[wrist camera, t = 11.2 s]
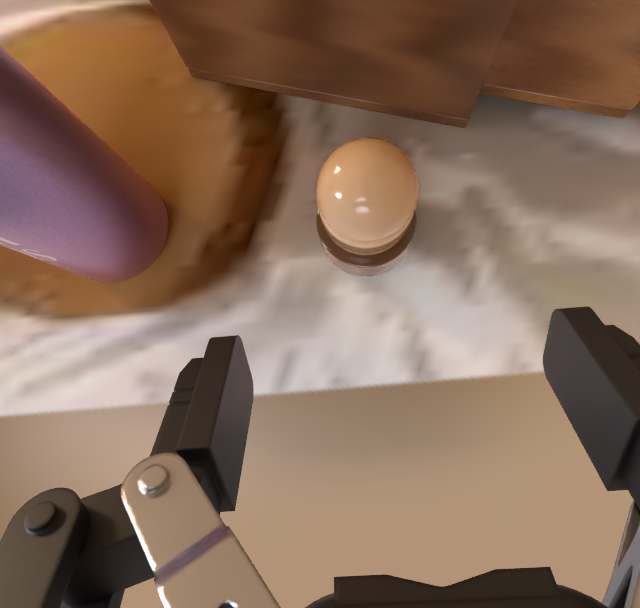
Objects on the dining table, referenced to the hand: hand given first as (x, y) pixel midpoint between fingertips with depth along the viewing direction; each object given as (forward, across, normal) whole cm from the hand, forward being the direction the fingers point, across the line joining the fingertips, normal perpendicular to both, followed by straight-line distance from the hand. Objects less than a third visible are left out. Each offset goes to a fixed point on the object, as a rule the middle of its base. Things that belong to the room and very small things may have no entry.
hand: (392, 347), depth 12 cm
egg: (+13, 0, +3) cm, 13 cm away
